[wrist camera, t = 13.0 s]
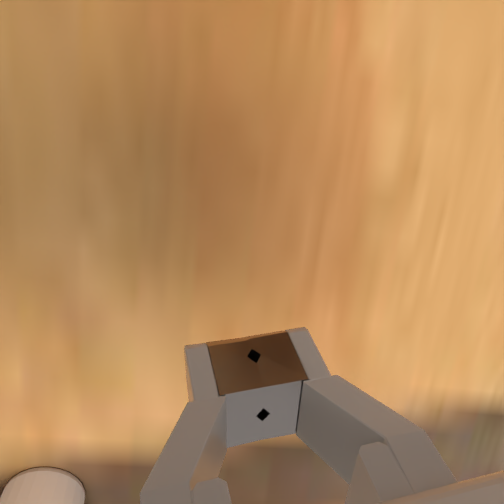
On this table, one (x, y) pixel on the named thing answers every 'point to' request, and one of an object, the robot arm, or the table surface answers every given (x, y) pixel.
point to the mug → (43, 488)
